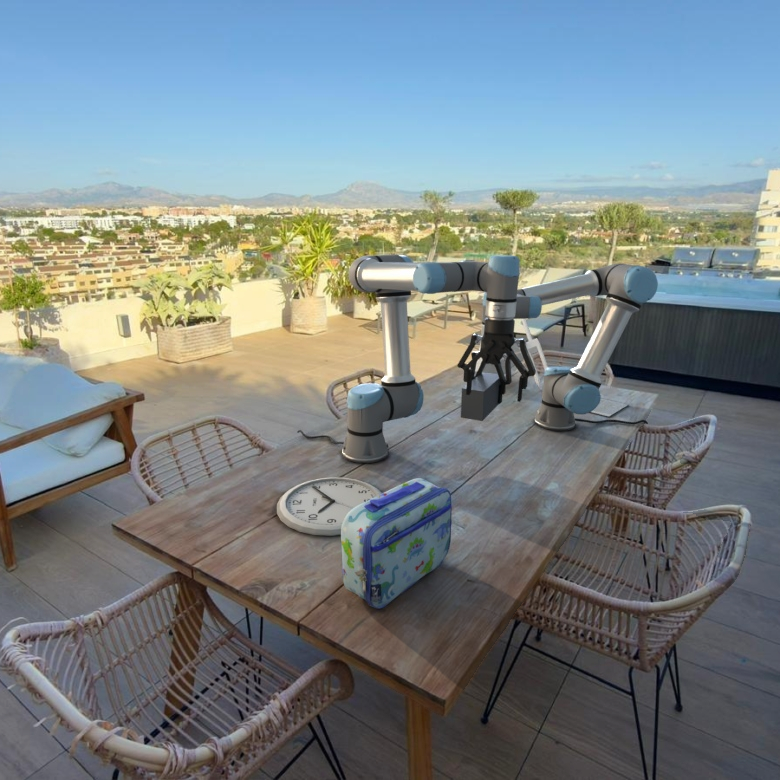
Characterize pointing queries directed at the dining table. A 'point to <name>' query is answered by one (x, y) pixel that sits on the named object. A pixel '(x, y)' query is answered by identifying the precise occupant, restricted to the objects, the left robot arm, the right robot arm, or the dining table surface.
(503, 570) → the dining table surface
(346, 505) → the wall clock
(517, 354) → the white plastic object
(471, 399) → the box
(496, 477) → the dining table surface
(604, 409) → the invitation card
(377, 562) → the lunch box
